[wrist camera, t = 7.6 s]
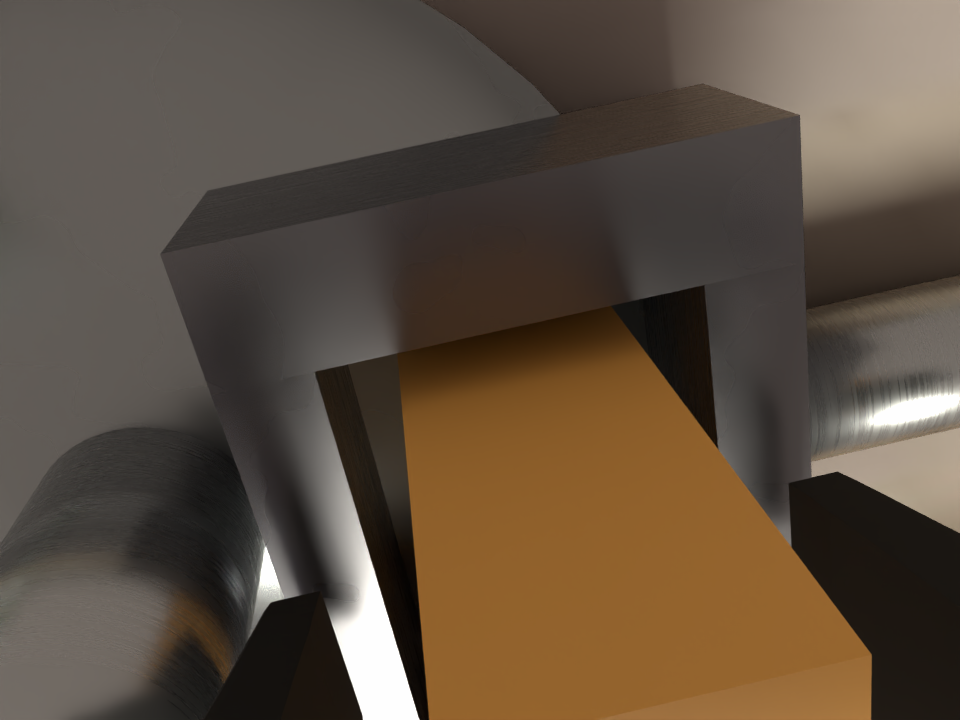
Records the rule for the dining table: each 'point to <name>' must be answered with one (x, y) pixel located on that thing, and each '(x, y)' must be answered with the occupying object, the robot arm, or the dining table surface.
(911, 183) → the dining table surface
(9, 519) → the rosette joint
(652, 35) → the dining table surface
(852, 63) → the dining table surface
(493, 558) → the orange rectangular block
